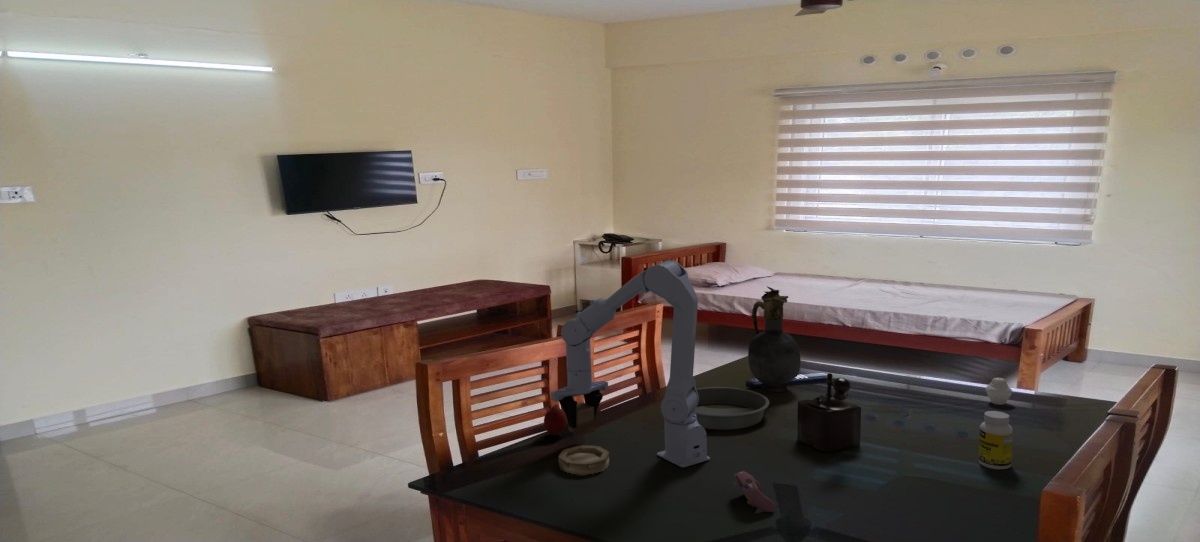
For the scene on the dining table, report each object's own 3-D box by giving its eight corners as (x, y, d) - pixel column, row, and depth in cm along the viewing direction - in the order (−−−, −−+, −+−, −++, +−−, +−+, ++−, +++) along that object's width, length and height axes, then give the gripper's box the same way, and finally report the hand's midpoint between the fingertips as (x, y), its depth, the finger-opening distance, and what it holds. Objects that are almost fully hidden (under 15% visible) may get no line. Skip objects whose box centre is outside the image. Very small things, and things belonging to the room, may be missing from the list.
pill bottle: (971, 462, 158) (973, 412, 157) (992, 457, 161) (994, 407, 159) (997, 472, 153) (999, 421, 151) (1018, 467, 155) (1020, 416, 154)
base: (618, 467, 162) (618, 456, 161) (575, 479, 156) (575, 468, 156) (592, 452, 171) (592, 441, 171) (550, 463, 165) (549, 452, 165)
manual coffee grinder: (793, 439, 175) (793, 365, 172) (830, 431, 179) (831, 359, 177) (839, 462, 161) (840, 381, 158) (878, 453, 165) (879, 374, 163)
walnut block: (594, 431, 175) (593, 407, 174) (578, 435, 172) (577, 410, 172) (584, 426, 178) (583, 402, 178) (568, 430, 176) (567, 406, 175)
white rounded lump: (987, 398, 200) (988, 373, 199) (1013, 401, 197) (1014, 376, 196) (983, 404, 195) (984, 378, 195) (1009, 408, 192) (1010, 381, 191)
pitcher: (772, 398, 206) (771, 292, 202) (738, 381, 224) (737, 283, 220) (805, 393, 209) (806, 288, 205) (769, 376, 227) (769, 280, 223)
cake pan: (789, 418, 190) (789, 401, 190) (719, 440, 177) (718, 421, 176) (722, 396, 210) (722, 380, 210) (654, 414, 197) (654, 397, 196)
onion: (564, 440, 179) (563, 408, 178) (541, 439, 180) (540, 407, 179) (570, 432, 185) (569, 401, 184) (548, 431, 186) (546, 400, 185)
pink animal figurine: (742, 499, 148) (726, 470, 146) (762, 488, 148) (746, 459, 147) (757, 522, 138) (740, 492, 137) (778, 510, 138) (761, 479, 137)
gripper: (596, 360, 181) (598, 414, 182) (543, 370, 173) (546, 426, 175) (612, 366, 175) (614, 421, 176) (558, 376, 167) (561, 434, 169)
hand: (581, 424), depth 175 cm, fingers closed on walnut block, 4 cm apart
